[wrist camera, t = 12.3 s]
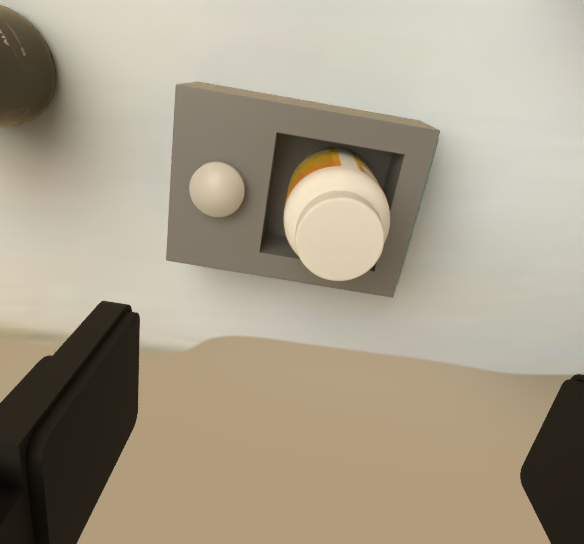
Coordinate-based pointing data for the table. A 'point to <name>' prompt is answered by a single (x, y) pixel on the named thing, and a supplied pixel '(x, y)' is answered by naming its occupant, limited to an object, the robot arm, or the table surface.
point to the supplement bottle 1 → (23, 70)
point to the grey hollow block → (281, 179)
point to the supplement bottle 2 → (336, 214)
